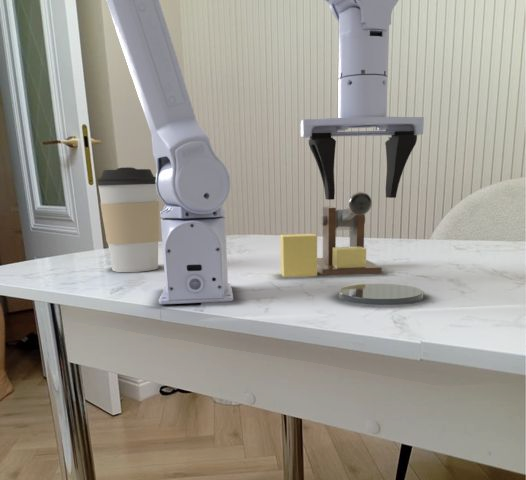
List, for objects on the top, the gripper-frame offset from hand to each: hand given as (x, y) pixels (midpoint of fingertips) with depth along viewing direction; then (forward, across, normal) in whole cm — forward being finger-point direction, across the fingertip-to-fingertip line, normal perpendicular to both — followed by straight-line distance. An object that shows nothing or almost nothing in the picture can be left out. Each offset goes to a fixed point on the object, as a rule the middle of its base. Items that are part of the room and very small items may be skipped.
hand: (360, 198), depth 73 cm
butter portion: (+10, +7, -5) cm, 13 cm away
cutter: (+10, 0, -10) cm, 14 cm away
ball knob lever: (+3, 0, -4) cm, 6 cm away
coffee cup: (+10, +30, -18) cm, 37 cm away
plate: (+10, 0, +12) cm, 16 cm away
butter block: (+9, 0, -6) cm, 11 cm away
